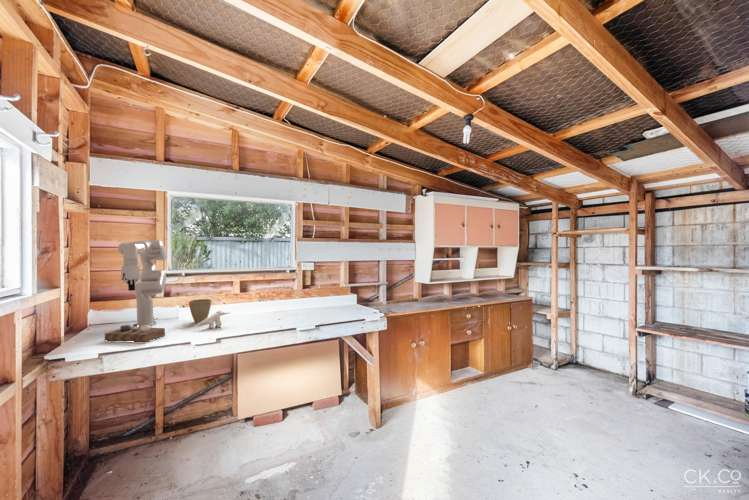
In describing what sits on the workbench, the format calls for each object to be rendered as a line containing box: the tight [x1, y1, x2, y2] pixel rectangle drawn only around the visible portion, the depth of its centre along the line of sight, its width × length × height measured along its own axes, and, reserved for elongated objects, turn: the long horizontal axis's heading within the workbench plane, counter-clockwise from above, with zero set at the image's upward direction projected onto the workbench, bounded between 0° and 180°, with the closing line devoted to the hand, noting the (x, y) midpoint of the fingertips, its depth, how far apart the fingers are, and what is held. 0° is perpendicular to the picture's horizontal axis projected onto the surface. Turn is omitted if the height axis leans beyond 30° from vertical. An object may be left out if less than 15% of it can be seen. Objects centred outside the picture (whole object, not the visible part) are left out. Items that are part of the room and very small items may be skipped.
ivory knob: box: [141, 325, 151, 332], centre depth 193 cm, size 5×5×8 cm
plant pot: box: [188, 298, 212, 324], centre depth 234 cm, size 15×15×16 cm
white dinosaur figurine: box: [193, 309, 231, 329], centre depth 218 cm, size 7×24×11 cm, turn 130°
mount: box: [104, 326, 166, 343], centre depth 194 cm, size 28×14×5 cm, turn 83°
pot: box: [131, 323, 139, 331], centre depth 194 cm, size 3×3×4 cm
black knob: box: [120, 324, 131, 332], centre depth 195 cm, size 5×5×8 cm
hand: (131, 290), depth 203 cm, fingers closed
